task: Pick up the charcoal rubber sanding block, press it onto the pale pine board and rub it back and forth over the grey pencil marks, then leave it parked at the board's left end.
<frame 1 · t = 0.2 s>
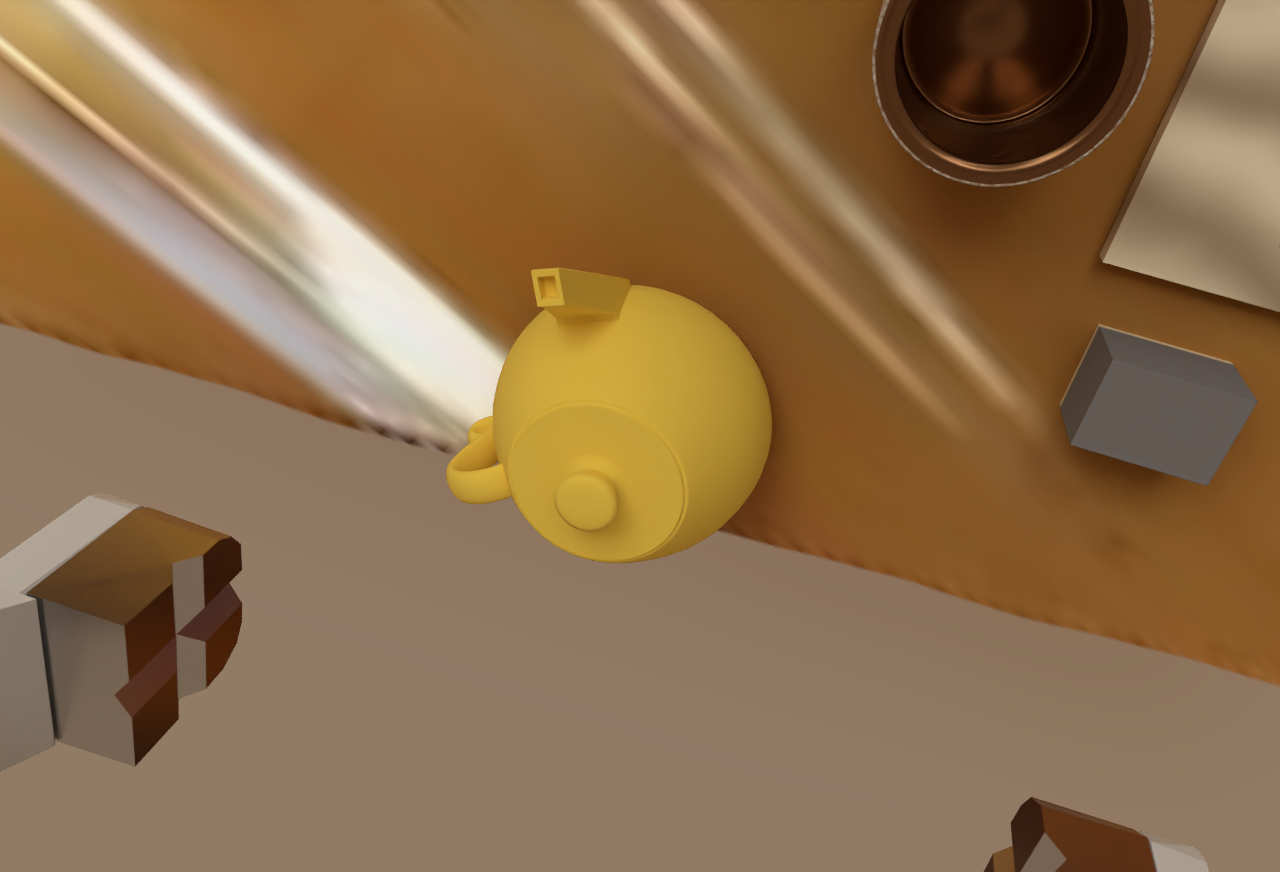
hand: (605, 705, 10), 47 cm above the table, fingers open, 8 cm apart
sanding block: (1142, 382, 55), on the table
planter: (993, 27, 49), on the table
teapot: (619, 375, 63), on the table
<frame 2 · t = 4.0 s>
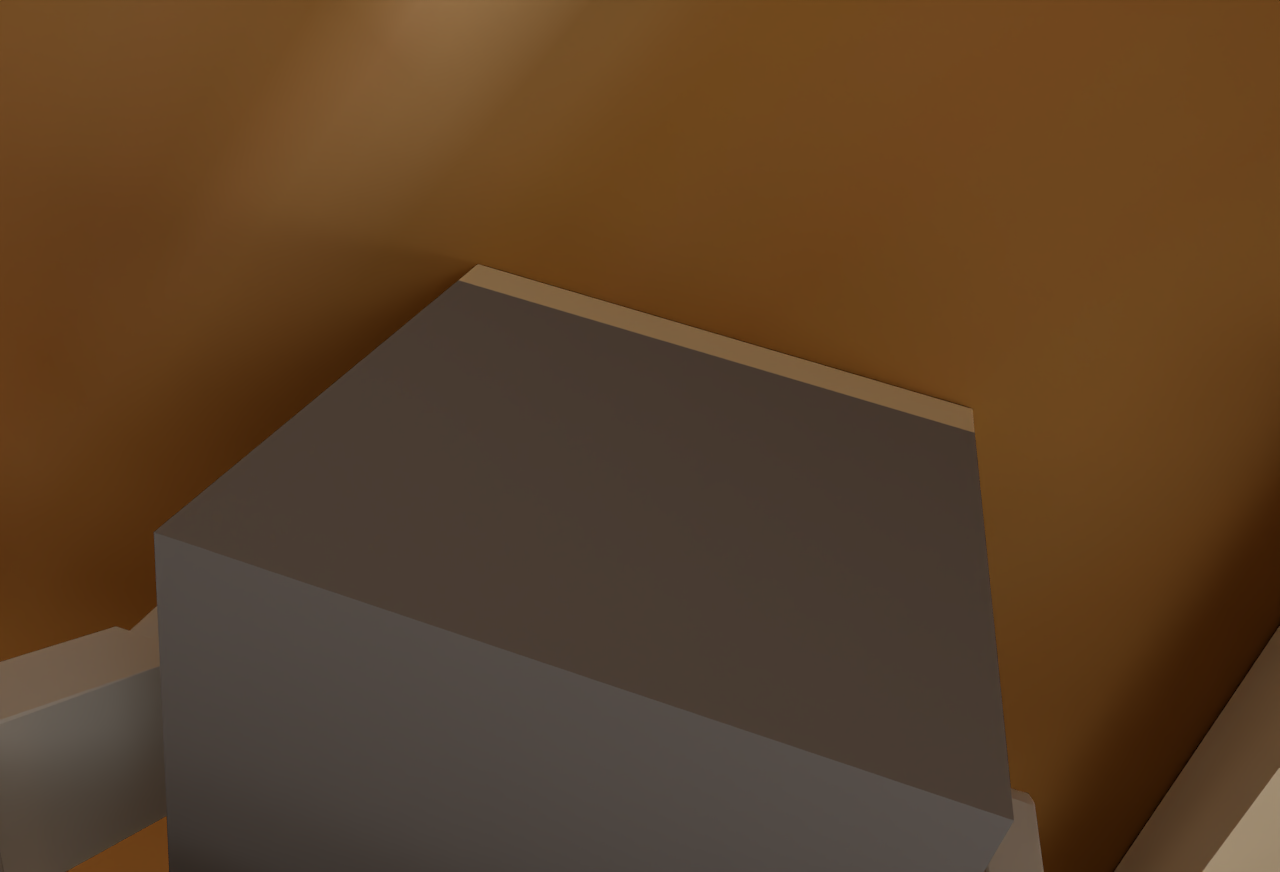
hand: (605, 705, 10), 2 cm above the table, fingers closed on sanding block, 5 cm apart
sanding block: (644, 607, 12), on the table, touching gripper
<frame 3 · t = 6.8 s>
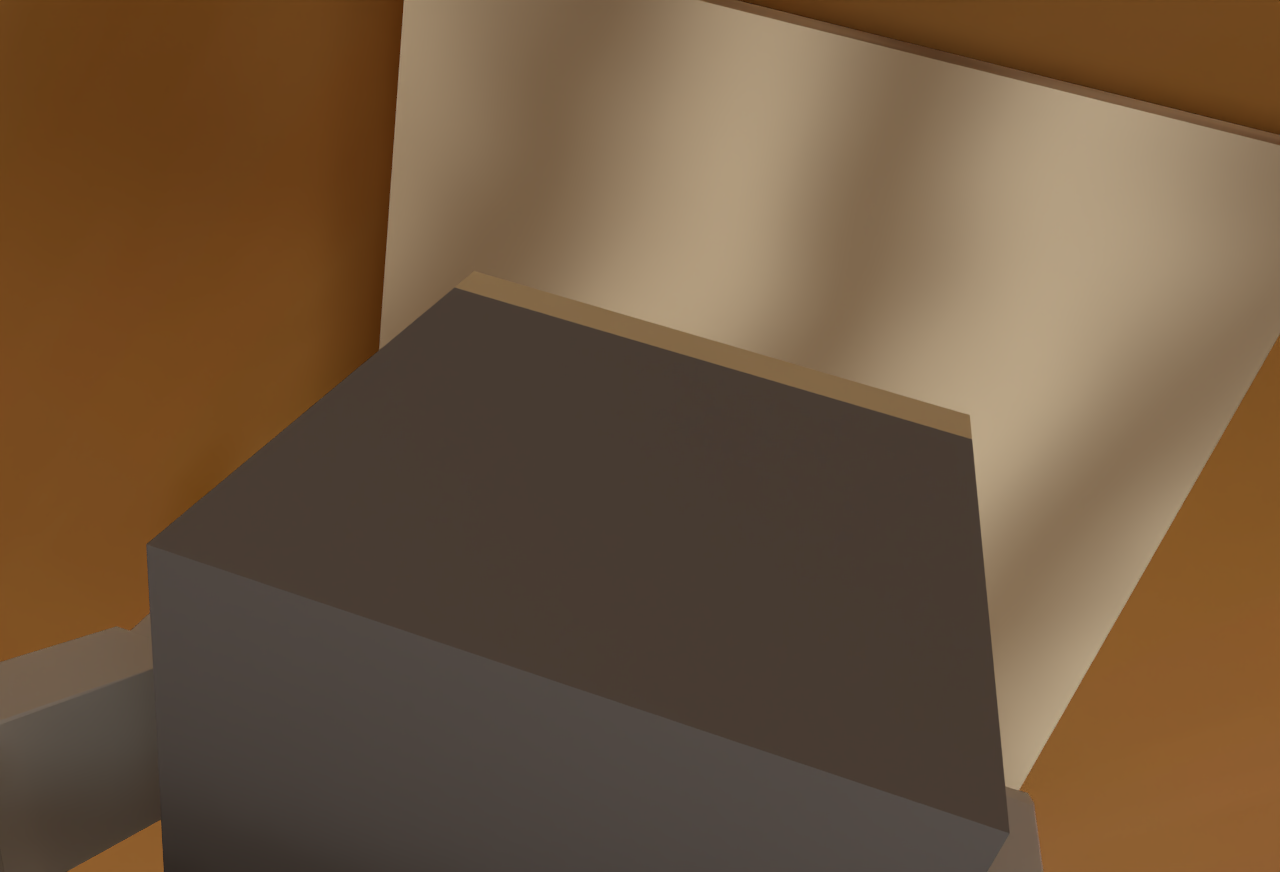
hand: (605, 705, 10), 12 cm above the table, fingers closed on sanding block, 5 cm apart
sanding block: (642, 614, 12), point 10 cm above the table, touching gripper
board: (719, 537, 23), on the table
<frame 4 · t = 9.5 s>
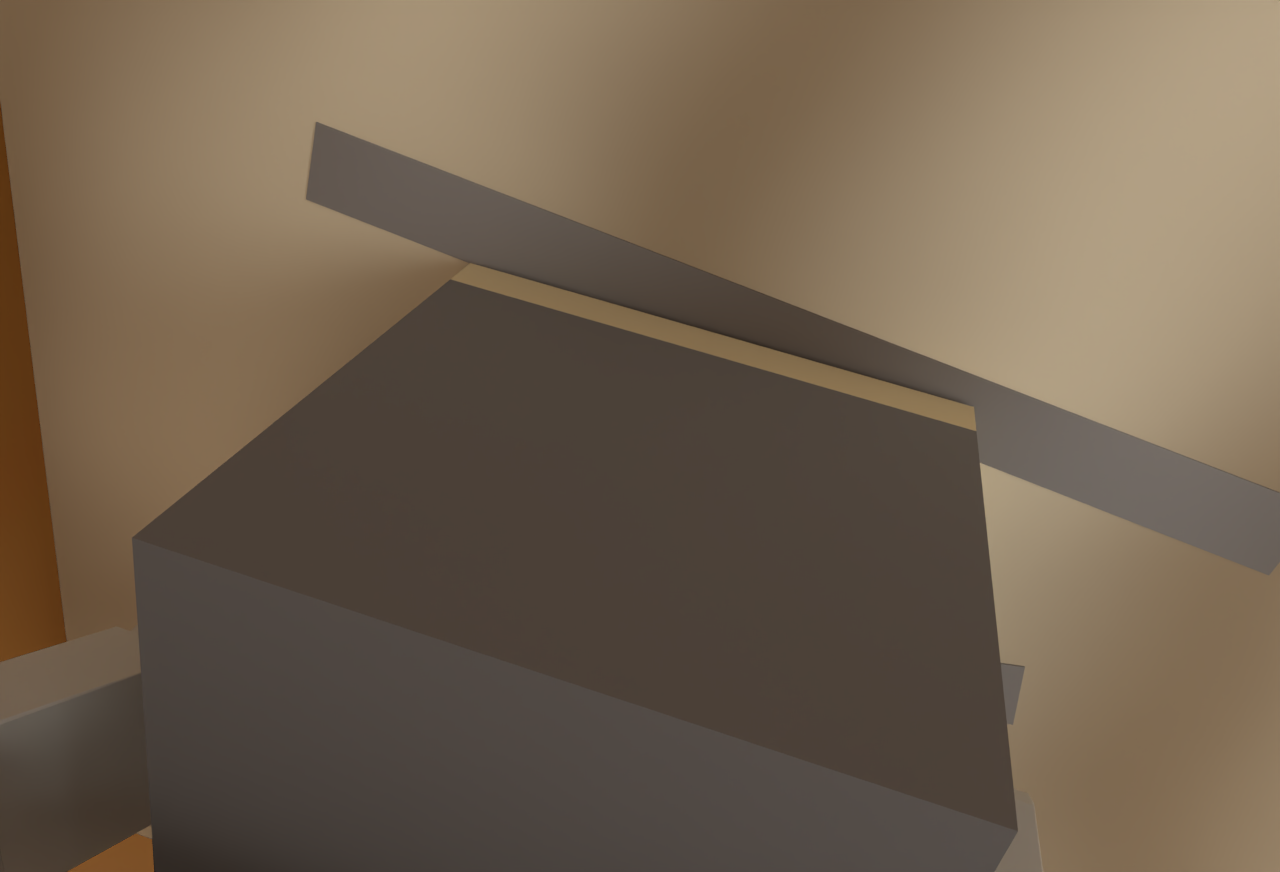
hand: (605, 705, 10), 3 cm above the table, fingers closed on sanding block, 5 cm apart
sanding block: (642, 611, 11), point 1 cm above the table, touching gripper
board: (754, 289, 11), on the table
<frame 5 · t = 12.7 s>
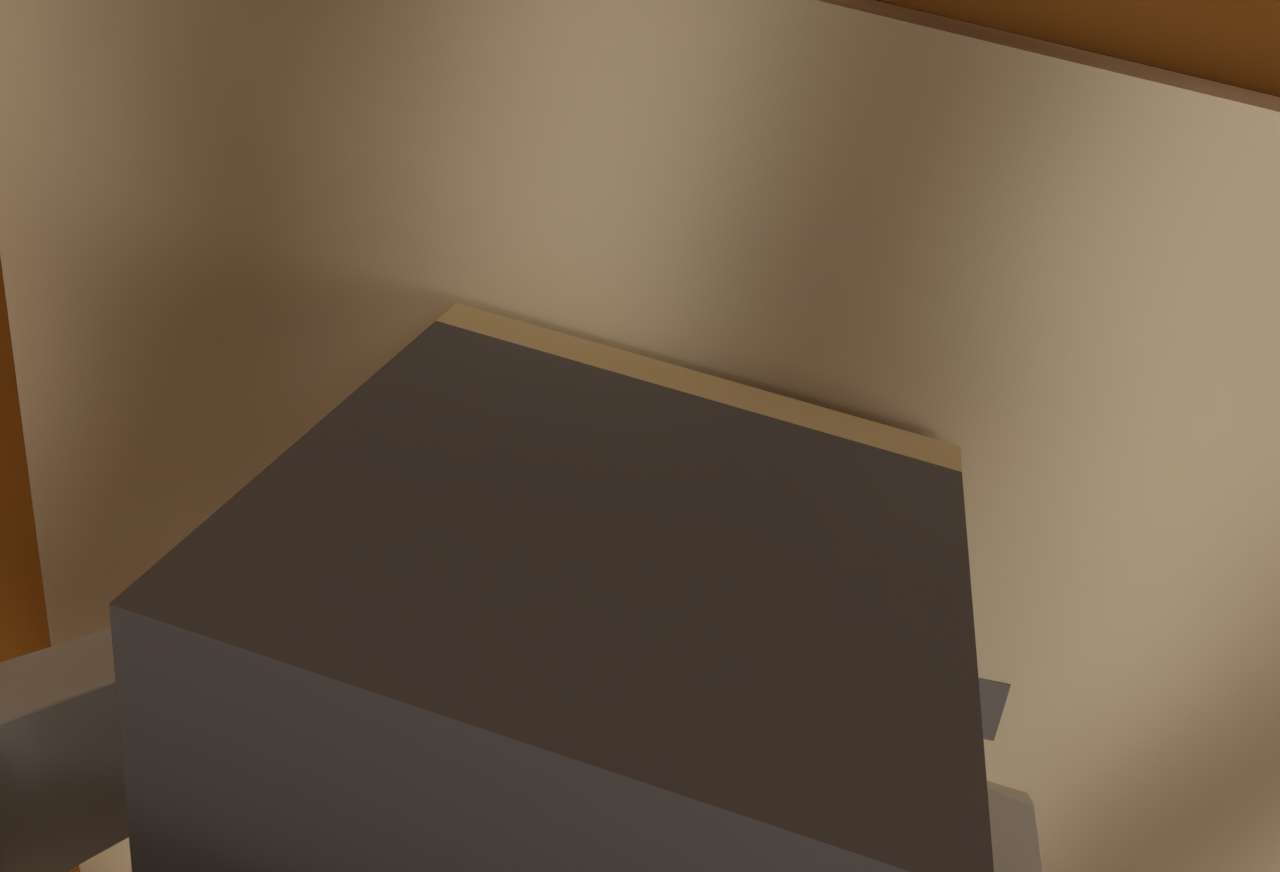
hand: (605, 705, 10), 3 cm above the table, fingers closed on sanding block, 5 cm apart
sanding block: (632, 646, 11), point 1 cm above the table, touching gripper
board: (606, 797, 15), on the table
when the fingers open (3 cm above the table, at t = 15.3 s): sanding block stays where it is, resting on board.
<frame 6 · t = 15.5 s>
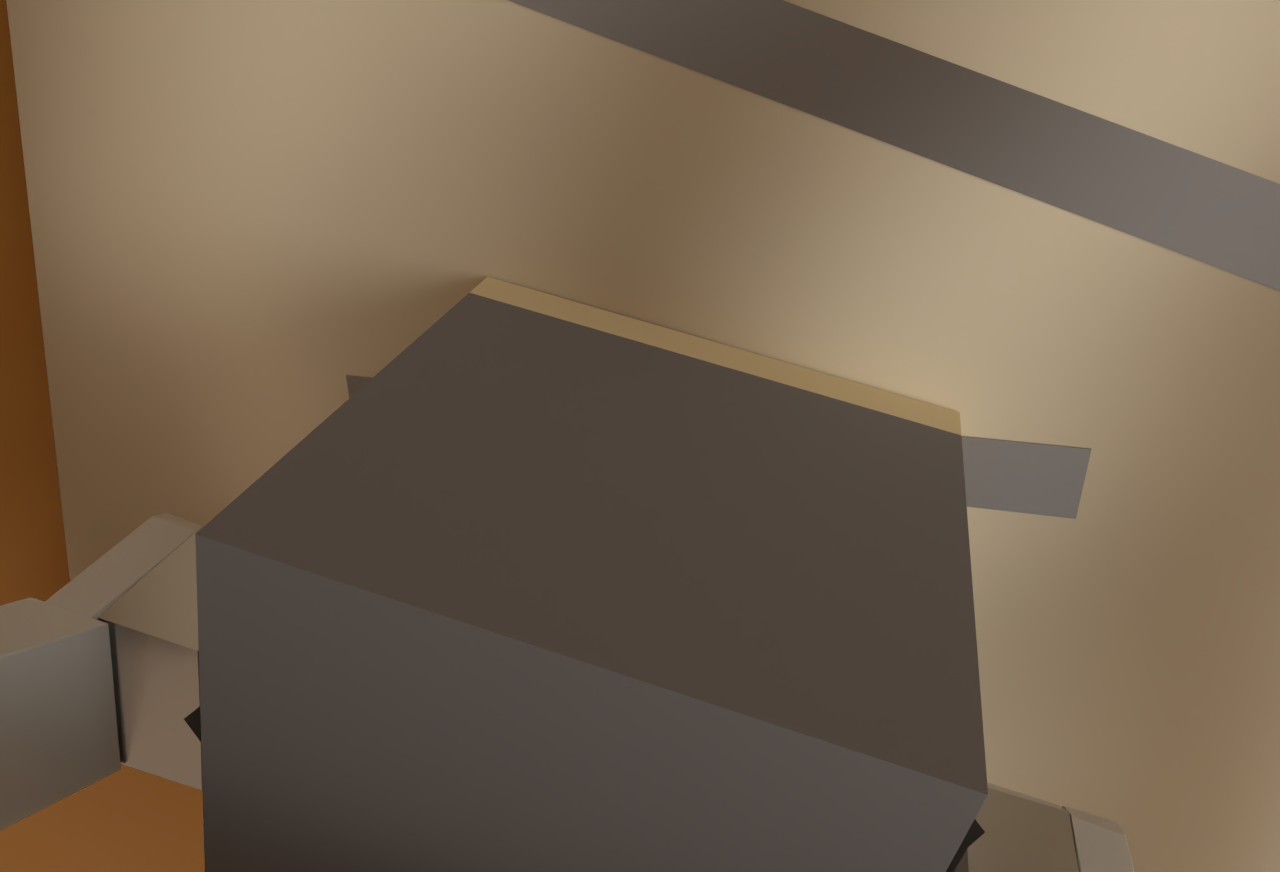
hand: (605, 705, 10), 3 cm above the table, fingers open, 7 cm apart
sanding block: (648, 604, 12), point 1 cm above the table, touching board
board: (801, 44, 10), on the table
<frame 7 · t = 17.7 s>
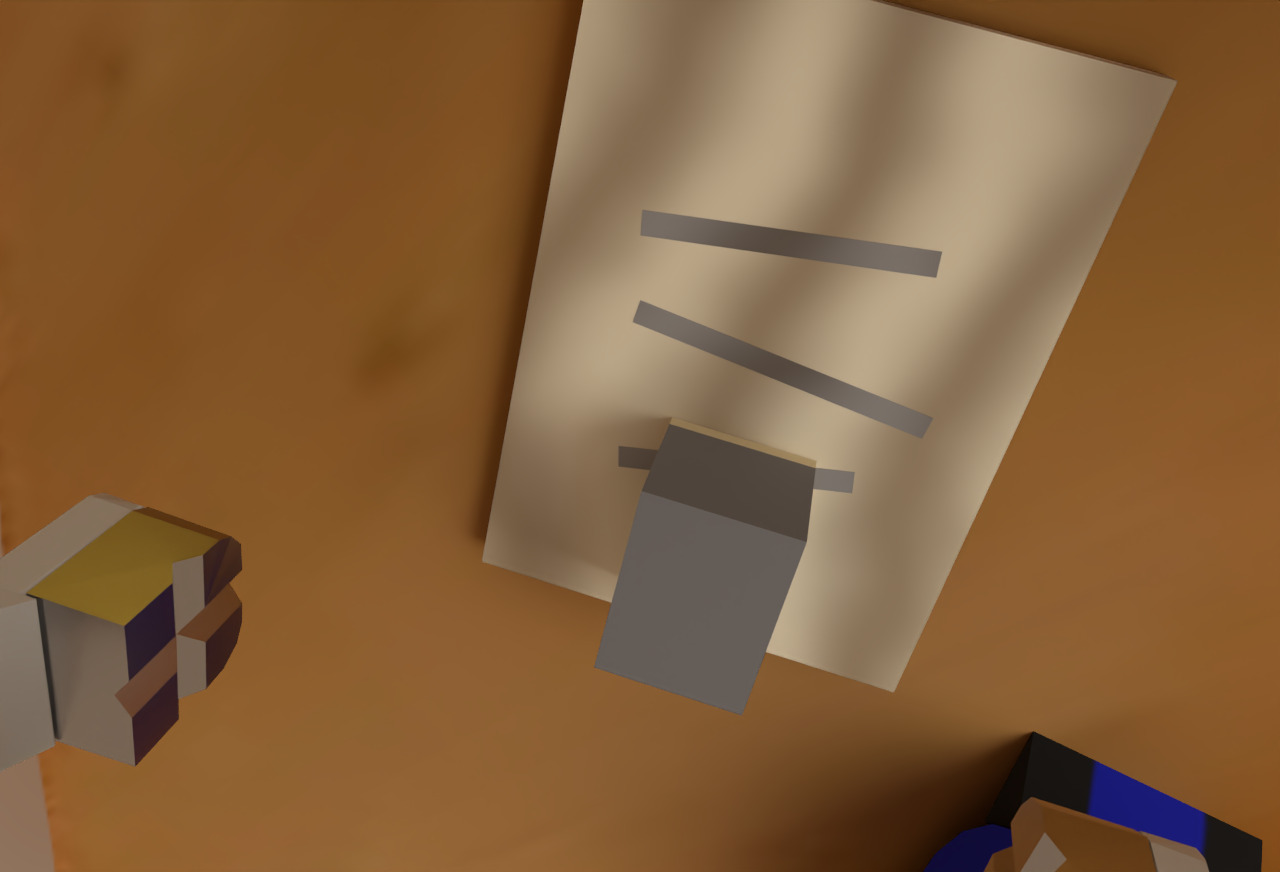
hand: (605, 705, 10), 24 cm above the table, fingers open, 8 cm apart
sanding block: (717, 523, 36), point 1 cm above the table, touching board
board: (770, 351, 34), on the table
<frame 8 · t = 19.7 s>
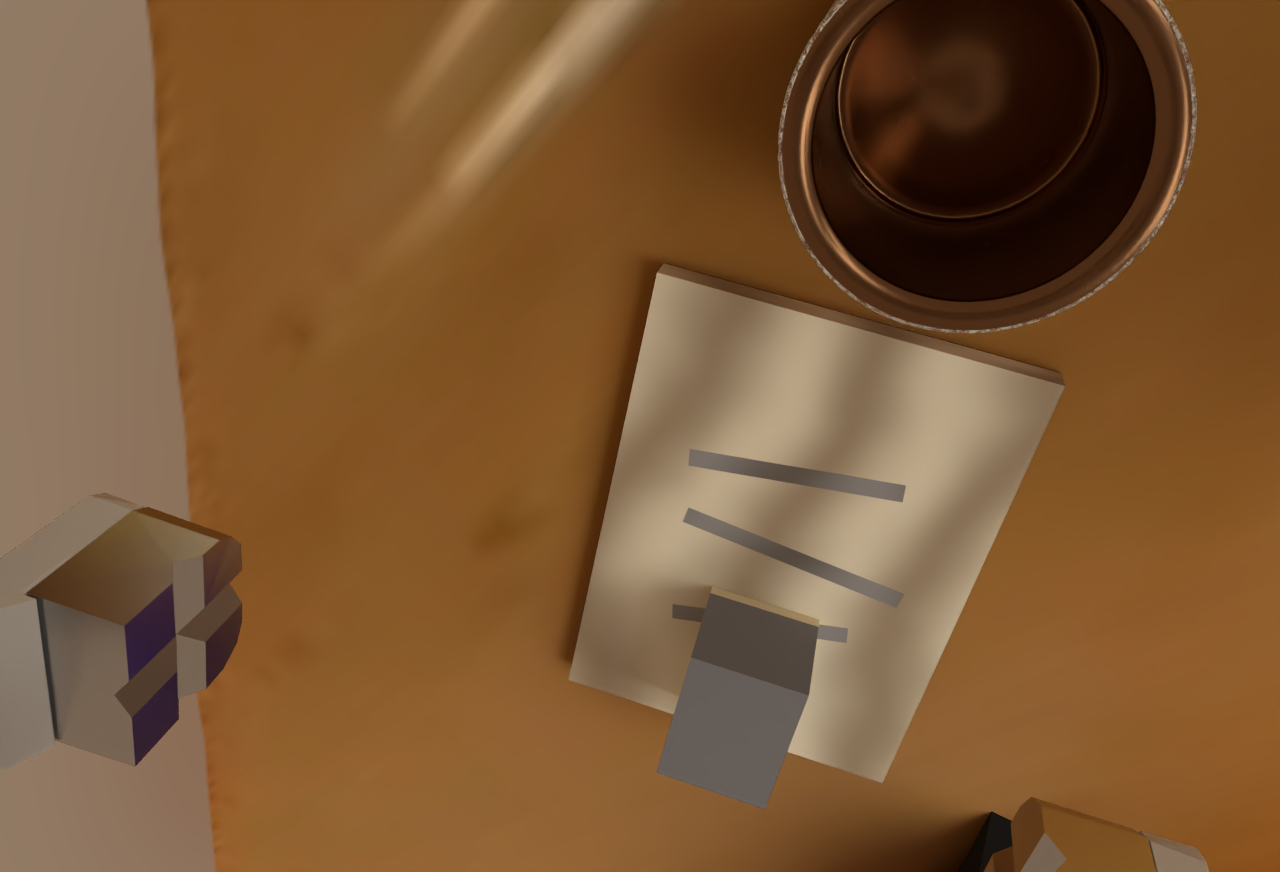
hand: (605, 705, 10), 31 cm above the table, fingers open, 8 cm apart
sanding block: (746, 660, 48), point 1 cm above the table, touching board
board: (784, 539, 46), on the table
planter: (963, 89, 36), on the table
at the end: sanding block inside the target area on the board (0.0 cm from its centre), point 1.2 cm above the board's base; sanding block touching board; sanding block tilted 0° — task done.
